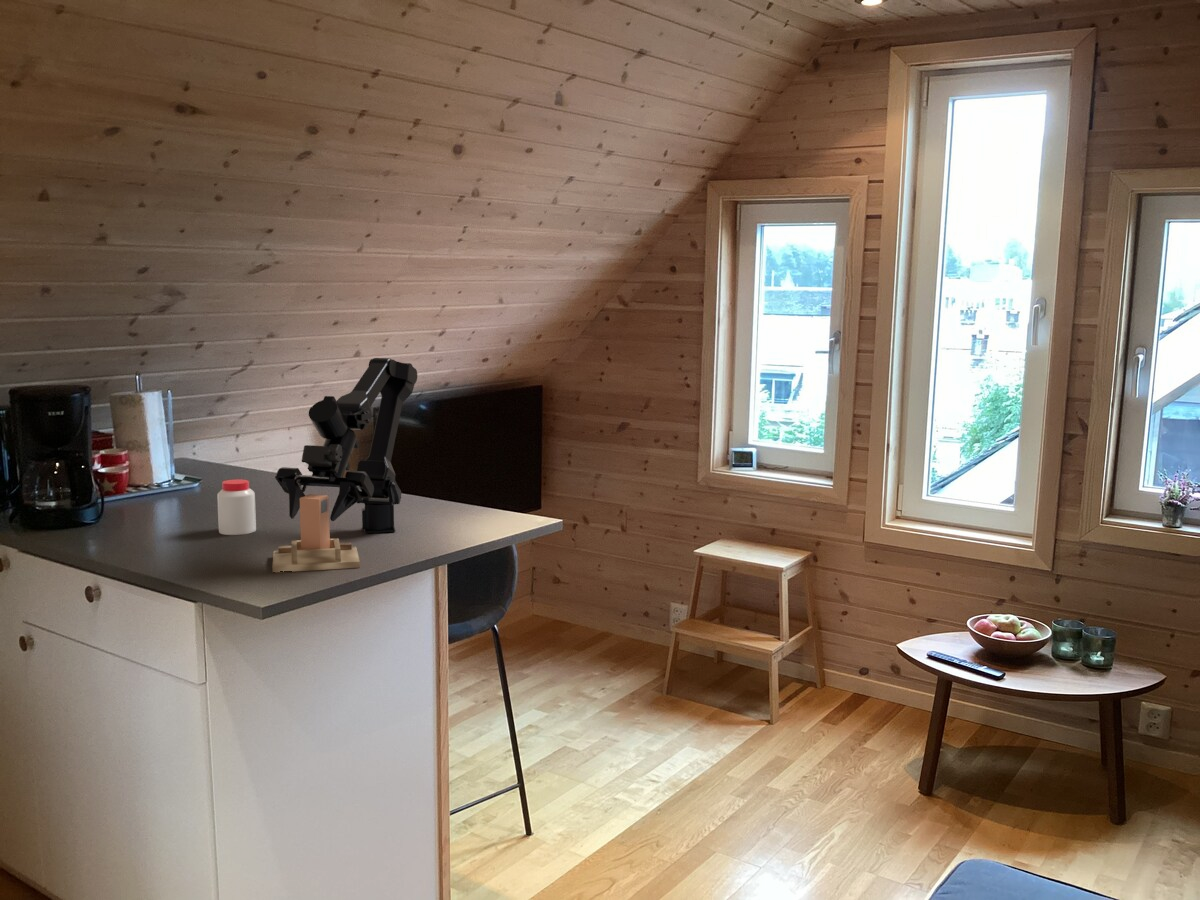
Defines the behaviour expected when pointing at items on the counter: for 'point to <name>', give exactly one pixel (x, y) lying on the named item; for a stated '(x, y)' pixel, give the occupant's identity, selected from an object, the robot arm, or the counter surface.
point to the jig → (315, 557)
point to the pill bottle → (236, 508)
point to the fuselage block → (314, 522)
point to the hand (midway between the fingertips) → (311, 518)
